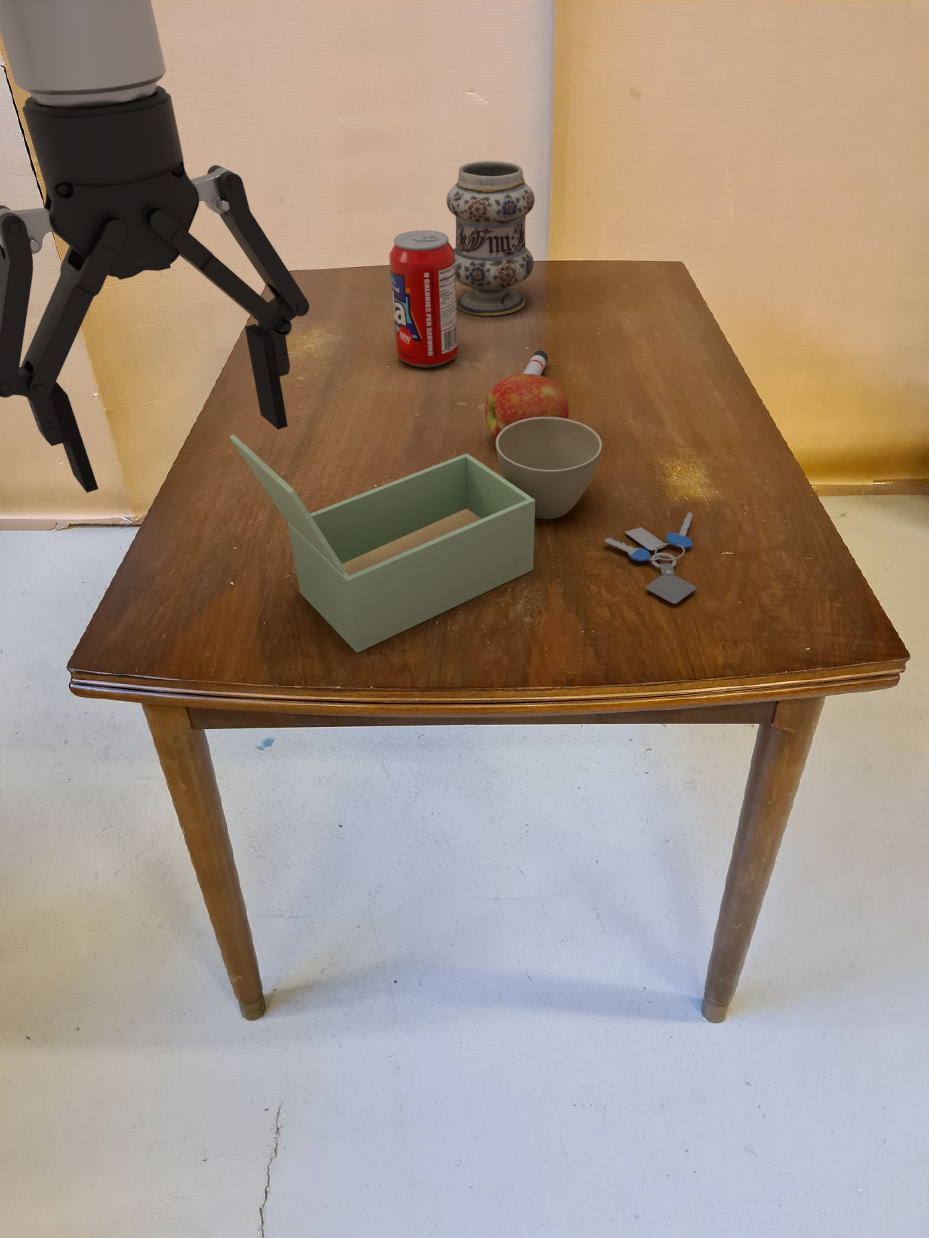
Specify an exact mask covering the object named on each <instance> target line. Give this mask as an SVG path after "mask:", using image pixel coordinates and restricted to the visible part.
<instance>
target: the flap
mask: <svg viewBox="0 0 929 1238" xmlns="http://www.w3.org/2000/svg"><path fill="white" fill-rule="evenodd" d="M229 439H230V440H231V442H232V444H233V445H234V447H235V448H236V450H237V451H238V453H239V454H240V455H241V457H242V458H243V460H244V462H245V463H246V464H247V466H248V467H249V469H250V470H251V471H252V473H253V475H254V476H255V478H256V479H257V480H258V482H259V483H260V485H261V486H262V488H263V489H264V491H265V492H266V493H267V495H268V497H269V498H270V500H271V501H272V502H273V504H274V506H275V507H276V509H277V510H278V511H279V513H280V514H281V516H282V518H283V519H285V521H286V522H287V523H288V522H289V523H290V524H291V525H292V526H293V527H294V528H295V529H296V530H297V531H298V532H299V533H300V534H301V535H302V536H303V537H304V538H305V539H306V540H307V541H308V542H309V543H310V544H311V545H313V546H314V547H315V548H316V549H317V550H318V551H319V552H320V553H321V554H322V555H323V556H324V557H325V558H326V559H327V560H328V561H329V562H330V563H331V564H332V565H333V566H334V567H335V568H336V569H337V570H338V571H339V572H340V573H341V574H342V575H344V574H345V573H347V571H346V570H345V568H344V567H343V565H342V563H341V562H340V560H339V559H338V557H337V556H336V554H335V553H334V551H333V550H332V548H331V546H330V545H329V543H328V542H327V540H326V539H325V537H324V536H323V534H322V532H321V531H320V529H319V528H318V526H317V525H316V523H315V522H314V520H313V518H312V517H311V515H310V514H311V513H310V512H309V511H308V509H307V507H306V506H305V504H304V503H303V501H302V500H301V498H300V497H299V495H298V493H297V492H296V490H295V489H294V488H293V487H292V486H290V485H289V483H287V482H286V481H285V480H284V479H283V478H282V477H281V476H280V475H279V474H278V473H276V472H275V471H274V470H273V469H272V468H271V467H270V466H269V465H268V464H267V463H265V462H264V461H263V460H262V458H260V457H259V456H258V455H257V453H255V452H254V451H252V450H251V448H250V447H248V446H247V445H246V444H245V443H244V442H242V440H241V439H240V438H238V437H237V436H236V435H235V434H232V435H230V436H229Z"/></svg>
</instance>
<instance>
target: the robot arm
mask: <svg viewBox="0 0 929 1238" xmlns="http://www.w3.org/2000/svg"><path fill="white" fill-rule="evenodd" d="M155 18H156V17H155V13H154V9H153V4H152V0H0V37H1V40H2V44H3V48H4V51H5V55H6V58H7V61H8V65H9V69H10V72H11V76H12V79H13V82H14V84H15V85H16V86H17V87H18V88H20V89H21V90H24V91H25V92H27V93H30V96H29V97H28V98H26V99H25V101H24V105H23V106H22V113H23V116H24V120H25V123H26V126H27V131H28V133H29V136H30V140H31V143H32V147H33V150H34V153H35V157H36V161H37V163H38V167H39V170H40V173H41V177H42V180H43V183H44V189H45V202H44V206H43V207H40V208H26V209H15V210H14V209H13V210H12V209H11V208H9V207H8V206H6V205H2V204H0V398H3V399H4V398H5V399H6V398H10V397H13V396H20V397H25V398H27V401H28V404H29V407H30V409H31V413H32V415H33V419H34V420H35V421H34V422H35V424H36V427H37V430H38V431H39V433H40V434H41V435H42V437H43V438H44V440H45V441H46V442H47V444H49V445H50V446H51V447H54V446H57V445H61V444H62V446H63V448H64V452H65V454H66V458H67V460H68V464H69V466H70V469H71V472H72V475H73V476H74V478H75V479H76V480H77V482H78V483H79V484H80V486H81V487H82V489H83V490H84V492H86V494H88V493H91V492H94V491H97V490H99V486H98V483H97V480H96V477H95V473H94V470H93V468H92V465H91V461H90V459H89V456H88V453H87V449H86V446H85V443H84V441H83V437H82V434H81V432H80V428H79V424H78V422H77V419H76V416H75V413H74V409H73V407H72V403H71V401H70V398H69V395H68V393H67V392H66V391H65V390H64V388H63V387H62V386H61V385H60V383H58V381H57V380H58V378H59V375H60V373H61V371H62V369H63V367H64V365H65V362H66V360H67V358H68V357H69V353H70V351H71V349H72V347H73V345H74V342H75V340H76V338H77V336H78V333H79V332H80V329H81V327H82V325H83V322H84V319H85V318H86V315H87V313H88V310H89V309H90V306H91V304H92V302H93V299H94V298H95V297H96V296H98V295H99V293H100V292H101V291H102V288H103V286H104V284H105V282H106V280H107V277H112V278H117V280H119V281H122V280H126V279H130V278H133V277H135V276H137V275H139V274H140V273H143V272H144V271H151V272H153V271H156V272H160V271H164V270H168V269H172V266H171V265H172V264H173V263H174V262H176V260H178V258H179V257H181V258H182V259H183V260H184V261H186V262H187V263H188V264H189V265H190V266H191V267H193V268H194V269H195V270H197V271H198V272H199V273H200V274H201V275H202V276H204V277H205V279H207V280H208V281H209V282H210V283H212V284H213V285H214V286H215V287H216V288H218V289H219V290H220V291H221V292H223V294H225V295H226V296H227V297H228V298H229V299H231V300H232V301H233V302H235V303H236V304H237V305H238V306H239V307H240V308H241V309H243V310H244V311H245V312H246V313H247V314H248V315H250V316H251V317H252V318H253V319H255V321H257V324H256V323H253V324H249V325H245V326H244V329H245V330H244V331H245V337H246V341H247V347H248V352H249V358H250V363H251V369H252V375H253V380H254V384H255V385H254V386H255V390H256V396H257V402H258V408H259V413H260V416H261V417H262V418H264V419H265V420H266V421H267V422H268V423H269V424H271V425H272V426H273V427H274V428H275V429H277V430H278V431H279V430H281V429H284V428H288V427H289V425H288V420H287V413H286V408H285V402H284V395H283V388H282V383H281V377H284V376H287V375H289V374H290V369H291V363H290V358H289V357H290V355H289V349H288V344H287V336H289V334H291V331H292V329H293V324H292V320H294V319H295V318H296V317H305V316H306V315H307V314H308V313H309V310H310V303H309V300H308V299H307V297H306V296H305V295H304V293H303V291H302V289H301V288H300V287H299V285H298V283H297V282H296V280H295V279H294V277H293V275H292V274H291V273H290V271H289V270H288V268H287V266H286V264H285V263H284V262H283V260H282V258H281V257H280V255H279V254H278V252H277V251H276V249H275V248H274V246H273V244H272V243H271V241H270V239H269V238H268V237H267V235H266V233H265V232H264V230H263V229H262V227H261V226H260V223H258V220H257V219H256V218H255V216H254V214H253V213H252V212H251V209H250V204H249V200H248V197H247V193H246V189H245V186H244V181H243V179H242V177H241V176H240V174H237V173H235V172H233V171H232V170H229V169H227V168H225V167H223V166H221V165H218V164H215V165H212V166H210V167H209V168H208V170H207V172H206V174H204V175H201V176H198V177H195V178H192V179H190V177H189V176H188V173H187V171H186V168H185V162H184V154H183V149H182V145H181V140H180V139H181V138H180V135H179V130H178V125H177V120H176V115H175V111H174V110H175V109H174V105H173V101H172V96H171V94H169V93H168V92H167V90H166V89H165V88H164V87H163V86H160V85H158V82H159V81H160V80H162V79H163V77H164V76H165V74H166V72H167V68H166V64H165V59H164V54H163V49H162V45H161V40H160V36H159V32H158V27H157V22H156V19H155ZM200 202H204V204H205V206H206V207H207V208H208V210H210V211H212V212H214V213H216V214H218V215H219V216H220V218H221V220H222V222H223V223H224V225H225V226H226V228H227V230H229V232H230V234H231V235H232V237H233V238H234V240H235V241H236V242H237V244H238V245H239V247H240V249H241V250H242V252H243V253H244V254H245V256H246V258H247V259H248V260H249V262H250V264H251V265H252V266H253V268H254V270H255V271H256V272H257V274H258V275H259V277H260V278H261V280H262V282H263V283H264V284H265V286H266V287H267V289H268V290H269V292H270V294H271V295H272V296H273V298H272V299H270V300H269V301H267V300H266V299H264V297H262V296H261V295H260V294H259V293H258V292H256V290H254V289H253V288H252V287H251V286H250V285H249V284H248V283H246V282H245V281H244V280H243V279H242V278H240V277H239V276H238V275H237V274H236V273H235V271H232V270H231V268H229V267H228V266H227V265H226V264H225V263H223V262H222V261H221V260H220V259H219V258H218V257H217V256H215V255H214V253H213V252H212V251H211V250H209V248H207V247H206V246H205V245H204V244H203V243H202V242H201V241H199V240H198V239H197V238H196V237H195V236H194V235H192V234H191V233H190V229H191V227H192V224H193V222H194V219H195V216H196V214H197V211H198V209H199V207H200ZM50 232H53V233H54V235H56V236H57V237H58V238H60V239H61V240H62V241H63V242H64V243H66V244H67V246H68V248H67V251H66V253H65V255H64V258H63V260H62V262H61V264H60V269H59V271H60V274H59V277H58V280H57V282H56V285H55V287H54V288H53V292H52V293H51V296H50V298H49V300H48V302H47V305H46V307H45V309H44V312H43V314H42V315H41V316H42V317H41V318H40V321H39V323H38V326H37V328H36V330H35V331H34V332H35V333H34V334H33V337H32V339H31V341H30V344H29V347H28V348H27V351H26V354H25V356H24V358H23V360H22V363H21V358H22V352H23V344H24V338H25V332H26V323H27V317H28V311H29V305H30V304H29V303H30V297H31V290H32V282H33V277H34V258H33V255H35V254H38V253H39V252H40V251H42V248H43V240H44V237H45V236H46V235H47V234H48V233H50ZM20 364H21V365H20Z"/></svg>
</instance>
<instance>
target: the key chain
mask: <svg viewBox="0 0 929 1238" xmlns="http://www.w3.org/2000/svg"><path fill="white" fill-rule="evenodd" d="M693 514H694V513H693V512H690V511H689V512H687V515H686V517H684V520H683V524H682V525H681V527H680V531H679V533H677V532H669V533H667V534H666V536H665V540H666V541H667V543H665V542H663V541H662V540H660V539H659V538H657V536H655V535H654V534H652V533H650V532H649V531H648V530H646V529H645V528H644V527H641V526H640V527H637V528H633V529H629V530H625V531H624V534H625V535H627V536H628V537H630V538H632V539H633V540H634V541H636V542H637V543H638V544H640V545H641V546H643V547H644V548H643V547H634V546H632V545H627V544H626V543H625V542H624V541H623V542H621V541H619V540H615V539H614V538H613V537H607V538H604V543H606V544H607V545H611V546H612V547H615V548H617V549H620V550H621V551H624V552H626V553H627V555H628V558H630V559H631V560H633V561H636V562H646V561H649V562H651V564H652V565H653V566H654V567H655V568H657V569H659V571H660V576H658V577H657V578H655V579H654V580H653V581H651V582H650V583H648V584H647V585H645V589H646V591H648V592H651V593H653V594H654V595H656V596H657V597H659V598H661V599H663V600H664V601H666V602H668V603H670V604H673V605H676V604H678V603H680V602H681V601H682V600H683V599H685V598H686V597H688V596H689V595H690V594H692V593H693V592H694V591H696V590H697V586H696V585H695V584H692V583H690V582H689V581H687V580H685V579H683V578H681V577H679V576H677V575H676V574H675V570H674V567H675V566H676V565H677V560H678V559H679V558H681V557H682V556H684V553H685V552H686V549H689V548H691V547H692V546H693V541H692V539H691V538H690V537H688V536H686V535H687V533H688V529H690V525H691V522H692V517H693ZM667 545H671V546H674V547H676V548H680V549H681V550H682V553H681V554H680V555H678V556H677V557H675V556H674V555H672V554H670V553H667V552H658V550H661V549H663V548H665V547H666V546H667ZM650 551H654V554H653V555H652V556H651V553H650ZM663 557H664V558H663ZM658 560H661V561H671V562H672V563H658V562H656V561H658Z"/></svg>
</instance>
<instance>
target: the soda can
mask: <svg viewBox="0 0 929 1238" xmlns="http://www.w3.org/2000/svg"><path fill="white" fill-rule="evenodd" d="M449 240H450V238H449V236H448V235H447V234H446V233H445V232H441V231H438V230H430V229H418V230H417V229H416V230H410V231H406V232H402V233H400V234H398V235H396V236H395V237H394V238H393V246H392V248H391V250H390V251H389V255H388V256H389V272H390V284H391V296H392V310H393V321H394V322H393V324H394V335H395V336H394V337H395V345H396V346H395V349H396V355H397V357H398V358H399V359H400V360H401V361H402V362H403V363H406V364H408V365H410V366H412V367H417V368H421V369H423V368H424V369H430V368H437V367H440V366H442V365H445V364H446V363H448V362H450V361H452V360H453V359H454V358H455V357H456V356H457V354H458V351H459V339H458V337H459V336H458V307H457V280H456V271H455V252H454V248H453V246H452V245H451V243H450V242H449Z"/></svg>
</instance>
